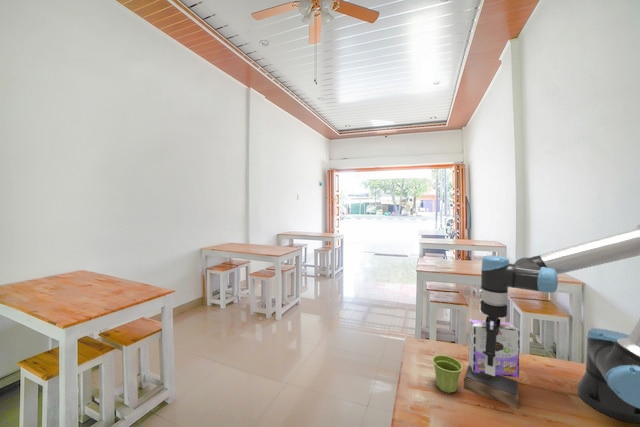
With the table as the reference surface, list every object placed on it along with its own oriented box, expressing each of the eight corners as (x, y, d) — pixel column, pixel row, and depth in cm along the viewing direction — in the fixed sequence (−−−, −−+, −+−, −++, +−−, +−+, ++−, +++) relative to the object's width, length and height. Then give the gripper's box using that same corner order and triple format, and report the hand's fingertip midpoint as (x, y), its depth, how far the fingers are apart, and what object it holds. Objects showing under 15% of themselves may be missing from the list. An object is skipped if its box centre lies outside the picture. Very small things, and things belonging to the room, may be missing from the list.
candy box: (511, 367, 93) (512, 321, 92) (519, 378, 87) (520, 329, 87) (467, 362, 96) (468, 318, 96) (473, 372, 90) (473, 325, 90)
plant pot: (463, 384, 93) (463, 360, 93) (460, 401, 85) (461, 375, 85) (434, 374, 98) (435, 352, 98) (429, 389, 90) (430, 364, 90)
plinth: (518, 392, 89) (518, 380, 89) (518, 408, 82) (518, 396, 82) (467, 374, 98) (468, 364, 98) (463, 387, 91) (464, 376, 91)
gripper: (484, 290, 101) (482, 345, 102) (476, 310, 82) (474, 378, 82) (508, 294, 97) (506, 352, 97) (505, 317, 77) (503, 389, 78)
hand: (491, 364), depth 90 cm, fingers open, 12 cm apart
